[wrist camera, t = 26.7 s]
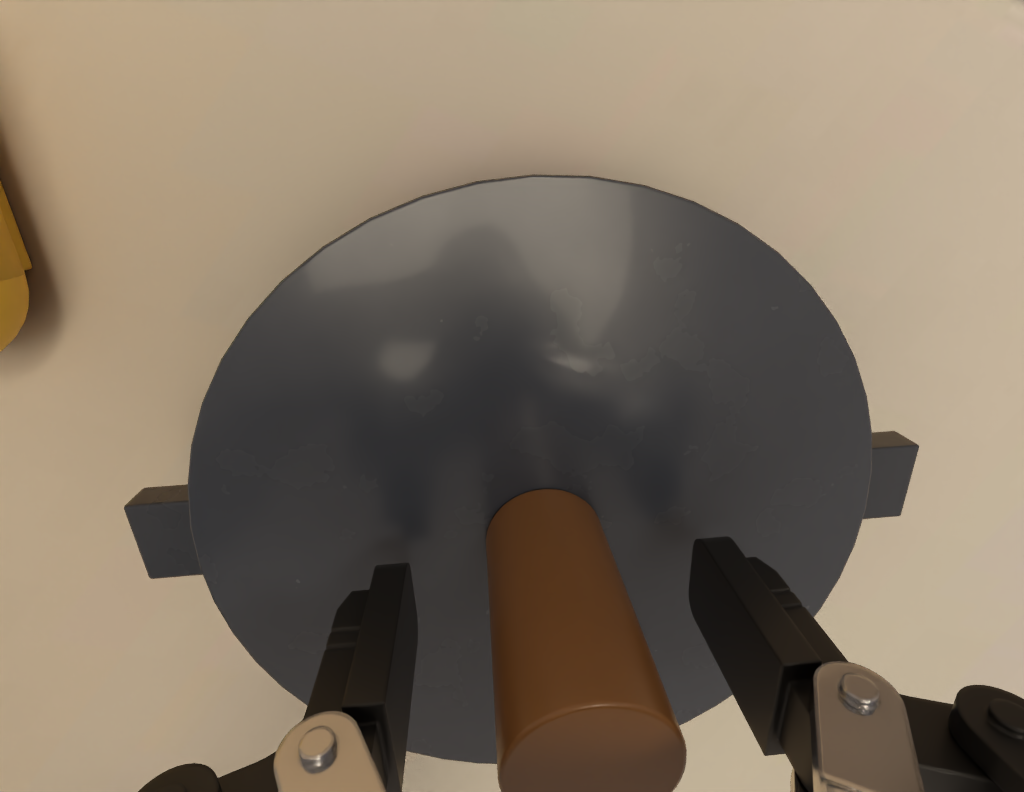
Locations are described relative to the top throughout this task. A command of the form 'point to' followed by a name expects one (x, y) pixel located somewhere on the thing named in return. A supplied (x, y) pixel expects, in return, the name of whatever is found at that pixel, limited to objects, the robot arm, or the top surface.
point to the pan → (173, 554)
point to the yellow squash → (11, 275)
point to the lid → (530, 462)
